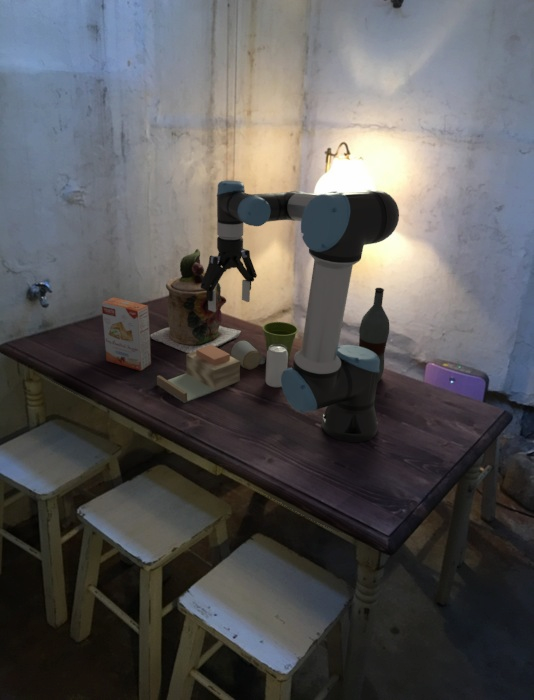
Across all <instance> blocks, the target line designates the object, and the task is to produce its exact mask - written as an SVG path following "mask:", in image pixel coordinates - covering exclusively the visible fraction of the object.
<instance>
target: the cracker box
mask: <svg viewBox="0 0 534 700" xmlns="http://www.w3.org/2000/svg"><path fill="white" fill-rule="evenodd" d="M101 311H102V321H103V322H102V323H103V334H104V335H103V336H104V346H105V356H106V357H105V358H106V362H108V363H109V362H110V363H113V364H116V365H120V366H121V367H122V366H123V367H125V368H129V369H132V370H136V371H139V372H142V371H143V370H145V369H146V368H148V367H149V366H151V365H152V357H151V356H152V354H151V337H150V333H151V332H150V331H151V330H150V314H149V305H147V304H142V303H140V302H139V303H138V302H134V301H130V300H125V299H121V298H119V297H118V298H117V297H111V298H109V299H106V300H103V301H102V302H101Z"/></svg>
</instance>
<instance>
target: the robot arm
mask: <svg viewBox="0 0 534 700" xmlns="http://www.w3.org/2000/svg"><path fill="white" fill-rule="evenodd" d="M397 204H398V203H397V202H396V200H395V199H394V198H393V197H392V196H391V195H390V194H388V193H387V192H385V191H383V190H378V189H365V190H353V191H349V190H348V191H331V192H327V193H309V192H305V191H299V190H298V191H297V190H293V191H292V190H291V191H284V192H283V191H282V192H271V193H270V192H269V193H267V192H266V193H257V194H256V193H255V194H251V193H246V190H245V185H244V183H243V181H238V180H221V181H220V182H218V183H217V193H216V210H217V211H216V214H217V215H216V217H217V220H216V223H217V226H216V234H217V237H216V243H217V245H216V248H217V251H218V253H217V254H218V255H212V254H211V255H209V258H208V265H207V267H206V270H205V275H204V278H203V281H202V284H201V288H202V289H205V290H206V291H207V300H208V310H210V311H213V312H216V290H214V288H215V287H216V285H217V283H219V282H220V280H221V278H222V276H223V274H225V272H227V270H230V269H232V268H233V269H235V268H236V269H237V270H238V272H239V273H240V274H241V276H242V277H243V278H244V279H242V280H241V283H242V284H241V285H242V287H241V301H244V302H246V303H250V300H251V295H250V294H251V293H250V292H251V291H252V282H254V281H255V279H256V278H257V276H258V275H257V272H256V269H255V266H254V264H253V262H252V258H251V252H250V250H249V249H246V248H244V238H243V236H244V224H246V225H248V226H253V227H261V226H263V225H264V224H266V223H268V222H269V223H270V222H278V221H292V222H293V221H294V222H300V232H301V234H302V237H301V238H302V240H303V243H304V244H305V245H306V247H307V248H308V254H309V255H310V256H311V257H312V258H313V267H312V272H311V273H312V274H311V279H310V280H311V281H310V287H309V288H310V289H309V295H308V301H307V309H306V315H305V316H306V317H305V323H304V330H303V335H302V343H301V349H299V350H298V351H297V352H295V354H294V356H293V362H292V366H291V367H287V369H286V370H284V371H283V373H282V376H281V384H282V387H281V388H282V392H283V394H284V396H285V400H287V402H288V404H289V405H290V406H291V407H292V409H294V410H295V411H297V412H299V413H302V414H303V413H309V412H315V411H317V410H320V409H323V408H325V410H324V412H323V414H322V418H321V428H322V430H323V431H324V432H325V433H326V434H327V435H328V436H330V437H332V438H333V439H336V440H337V441H342V442H345V443H346V442H347V443H362V442H363V443H364V442H366V441H371V440H372V439H373V438H374V437H375V436H376V435H377V433H378V427H379V421H378V419H377V413H376V409H375V408H376V407H375V401H376V393H377V389H378V387H377V386H378V383H379V382H378V376H379V372H380V370H379V364H380V359H379V357H378V356H377V354H375V353H374V352H373V351H371V350H369V349H366V348H363V347H360V346H359V345H353V344H343V345H339V342H340V336H341V332H342V326H343V321H344V315H345V309H346V304H347V301H348V300H347V299H348V294H349V287H350V283H351V282H350V281H351V277H352V272H353V266H354V265H356V264H357V263H358V262H360V261H361V259H362V257H363V251H364V250H363V249H364V246H366V245H372V244H377V243H380V242H383V241H384V240H386V239H387V238H389V237H390V236H392V235H393V233H394V232H395V230H396V228H397V226H398V225H399V224H398V223H399V220H400V209H399V207H398V205H397ZM241 259H242V260H241ZM242 261H243V262H242Z"/></svg>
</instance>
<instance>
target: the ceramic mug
mask: <svg viewBox="0 0 534 700" xmlns="http://www.w3.org/2000/svg"><path fill="white" fill-rule="evenodd" d="M230 356H231V357H233V358H235V359H237V360H239V361H240V367H242V368H243V369H245V370H254V369H256V368H257V367H258V366H259V365H265V364H266V363H265V362H266V359H265V357H263V356H262V355H261V353H260V352H259V350H258V349H257V348H255V347H254V346H253V345H252V344H251V343H250V342H248V340H239V341H238V342H236V343H234V345H233V347H232V348H231V351H230Z"/></svg>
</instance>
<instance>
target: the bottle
mask: <svg viewBox="0 0 534 700" xmlns="http://www.w3.org/2000/svg"><path fill="white" fill-rule="evenodd" d="M374 290H375V291H374V299H373V305H372V306H371V307H370V308H369V309H368V311H367V312H366V313H365V314H364V315H363V317H362V319H361V322H360V324H359V328H358V329H359V335H358V336H359V339H358V346H360V347H363V348H366V349H369V350H371V351H373V352H374V353H375V354H377V356H378V357H379V359H380V364H379V370H380V372H379V376H378V382H377V383H379V382H381V379H382V378H383V374H384V371H385V370H384V369H385V351H386V347H387V342H388V339H389V334H390V320H389V318H388V315H387V314H386V311H385V310H384V308H383V299H384V291H385V289H384V288H382V287H376V288H375V289H374Z"/></svg>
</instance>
